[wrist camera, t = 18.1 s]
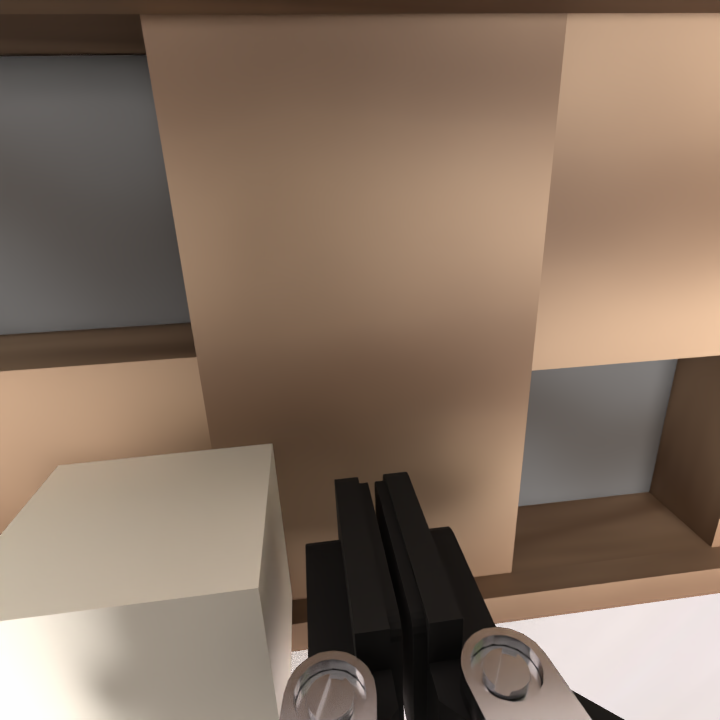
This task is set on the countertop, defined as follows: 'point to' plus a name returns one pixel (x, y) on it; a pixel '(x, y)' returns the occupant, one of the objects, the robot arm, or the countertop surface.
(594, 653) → the countertop surface
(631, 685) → the countertop surface
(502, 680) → the robot arm
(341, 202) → the trap board
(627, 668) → the countertop surface
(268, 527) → the cream block
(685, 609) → the countertop surface
